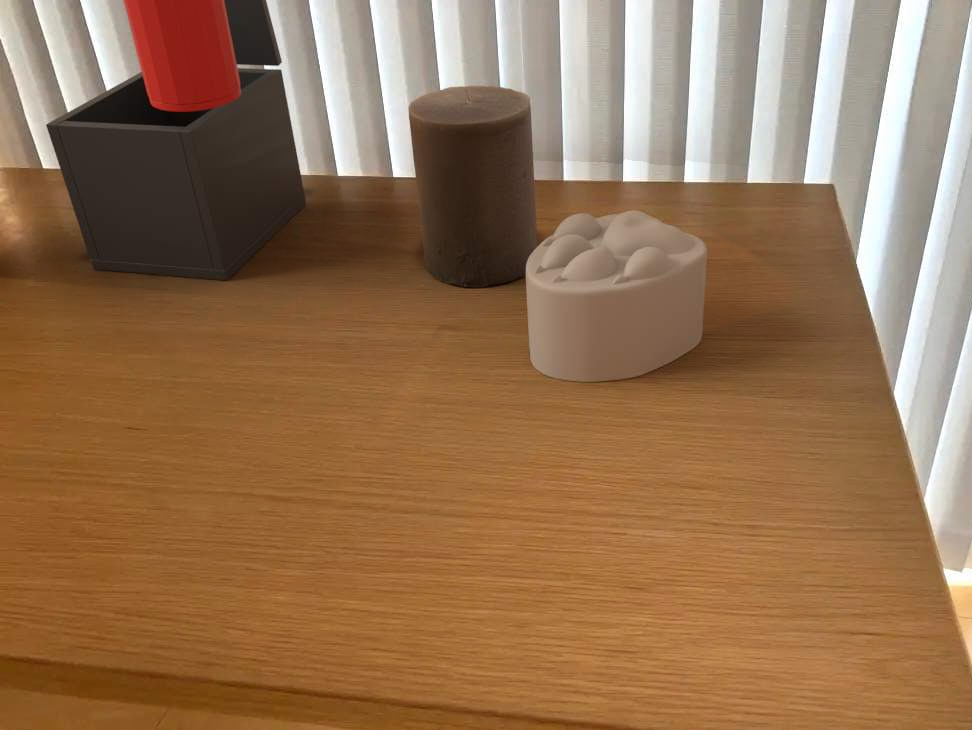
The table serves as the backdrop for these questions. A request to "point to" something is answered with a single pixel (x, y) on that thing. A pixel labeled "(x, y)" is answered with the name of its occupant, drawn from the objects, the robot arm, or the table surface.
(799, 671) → the table surface
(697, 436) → the table surface
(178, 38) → the bottle
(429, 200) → the pillar candle
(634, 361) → the lumpy-topped squat cylinder
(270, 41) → the lid
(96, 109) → the bin
